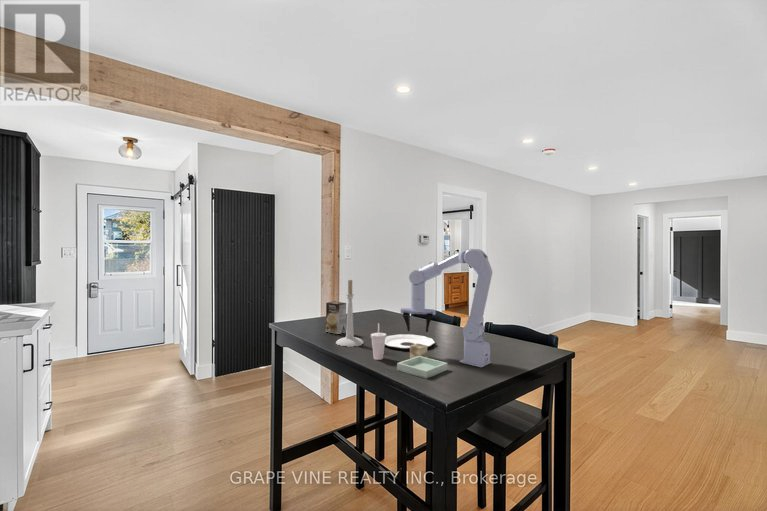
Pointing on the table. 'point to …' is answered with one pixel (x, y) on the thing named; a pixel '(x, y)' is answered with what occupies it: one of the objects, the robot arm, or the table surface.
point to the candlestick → (349, 324)
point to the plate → (396, 341)
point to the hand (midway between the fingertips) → (417, 331)
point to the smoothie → (378, 344)
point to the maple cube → (418, 350)
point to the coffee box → (336, 317)
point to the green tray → (422, 367)
